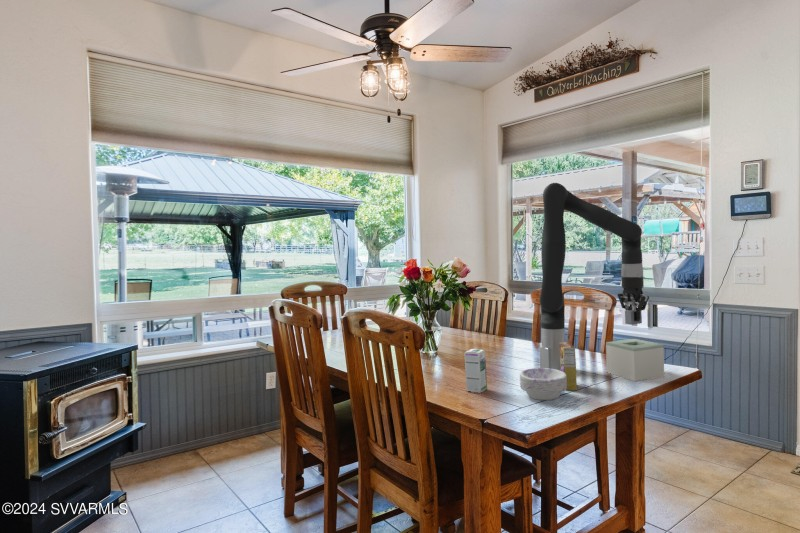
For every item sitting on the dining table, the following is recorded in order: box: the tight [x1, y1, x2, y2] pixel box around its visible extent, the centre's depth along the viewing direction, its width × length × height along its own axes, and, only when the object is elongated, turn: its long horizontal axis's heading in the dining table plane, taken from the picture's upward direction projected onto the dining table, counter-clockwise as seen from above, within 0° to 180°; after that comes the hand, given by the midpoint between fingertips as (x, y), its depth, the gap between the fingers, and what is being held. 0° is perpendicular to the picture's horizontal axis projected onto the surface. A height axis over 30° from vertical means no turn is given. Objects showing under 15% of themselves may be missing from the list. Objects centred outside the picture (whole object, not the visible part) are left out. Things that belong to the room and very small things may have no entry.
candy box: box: [559, 341, 578, 391], centre depth 173 cm, size 9×4×15 cm, turn 171°
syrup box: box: [464, 348, 488, 394], centre depth 173 cm, size 6×6×14 cm
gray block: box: [624, 309, 643, 325], centre depth 184 cm, size 5×3×5 cm, turn 109°
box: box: [605, 338, 665, 382], centre depth 185 cm, size 14×14×12 cm
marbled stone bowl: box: [519, 367, 567, 401], centre depth 164 cm, size 15×15×8 cm
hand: (633, 320), depth 184 cm, fingers closed on gray block, 2 cm apart
